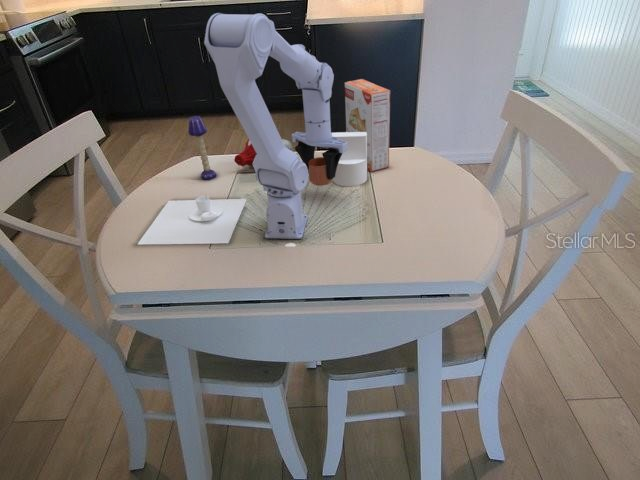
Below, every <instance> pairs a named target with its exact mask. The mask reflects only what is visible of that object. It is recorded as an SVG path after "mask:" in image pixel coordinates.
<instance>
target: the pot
mask: <svg viewBox="0 0 640 480" xmlns="http://www.w3.org/2000/svg"><path fill="white" fill-rule="evenodd" d="M308 168H309V174H308V181H309V182H310V183H311V184H312V185H314V186H318V187H319V186H320V187H323V186H327V185H329V184H331V183H332V182H333V179H331V180H329V179H328V178H327V170H326V164H325V160H324V158H323V156H318V157H314V158H313V159H311V160H309V162H308Z"/></svg>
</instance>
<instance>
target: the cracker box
mask: <svg viewBox="0 0 640 480" xmlns="http://www.w3.org/2000/svg"><path fill="white" fill-rule="evenodd" d="M344 102H345V103H344V104H345V132H366V133H367V171H370V172H371V173H372V172H377V171H380V170H384V169H387V168H389V167H390V128H391V127H390V125H391V124H390V123H391V121H390V120H391V90H390V89H388V88H386V87H382V86H380V85H377V84H375V83H373V82H370V81H368V80H366V79H364V78H360V79H355V80H348V81H345V82H344Z"/></svg>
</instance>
